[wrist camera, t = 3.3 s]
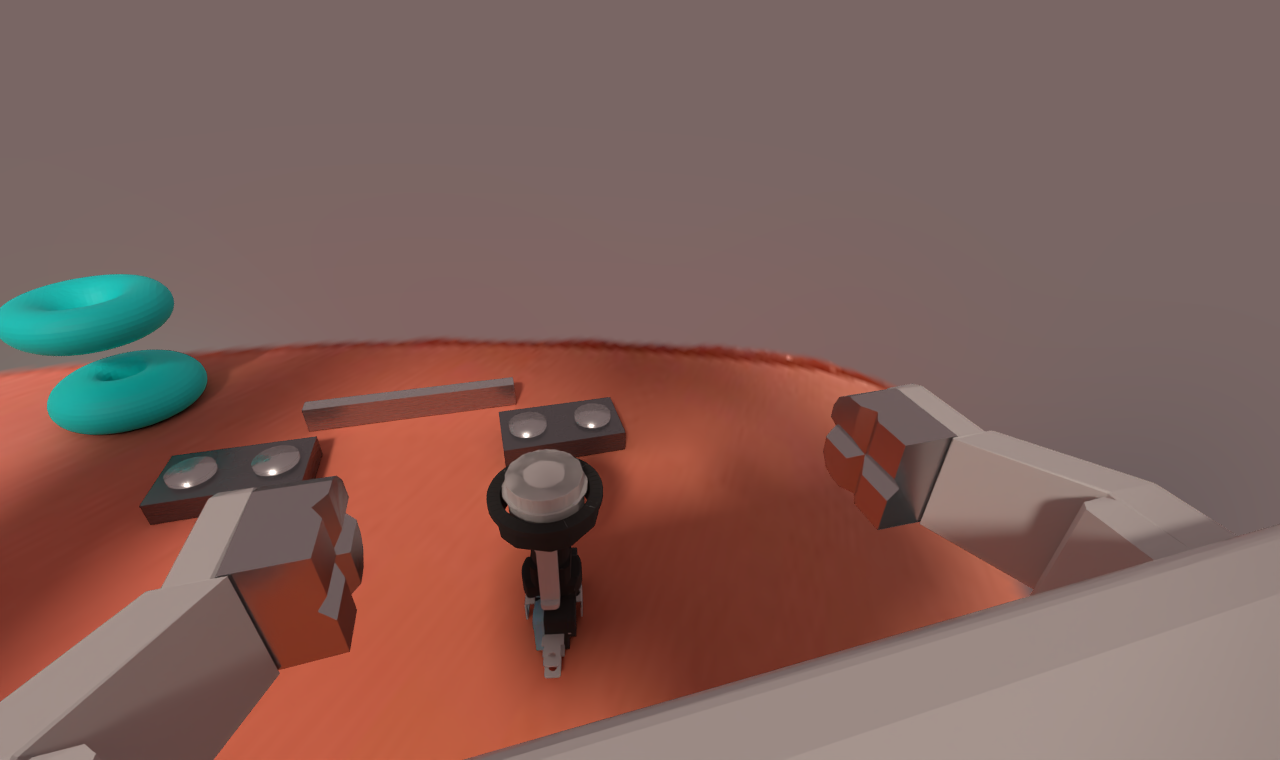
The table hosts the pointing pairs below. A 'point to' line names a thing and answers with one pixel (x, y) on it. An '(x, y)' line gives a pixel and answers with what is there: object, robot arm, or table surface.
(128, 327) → the donuts
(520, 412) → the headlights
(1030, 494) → the robot arm
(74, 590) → the table surface
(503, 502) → the push button
